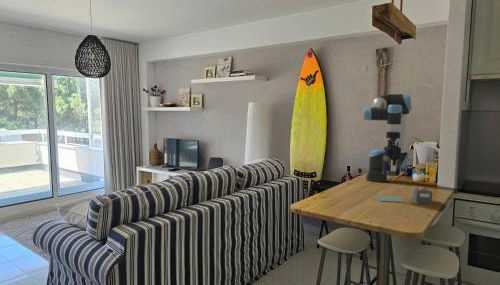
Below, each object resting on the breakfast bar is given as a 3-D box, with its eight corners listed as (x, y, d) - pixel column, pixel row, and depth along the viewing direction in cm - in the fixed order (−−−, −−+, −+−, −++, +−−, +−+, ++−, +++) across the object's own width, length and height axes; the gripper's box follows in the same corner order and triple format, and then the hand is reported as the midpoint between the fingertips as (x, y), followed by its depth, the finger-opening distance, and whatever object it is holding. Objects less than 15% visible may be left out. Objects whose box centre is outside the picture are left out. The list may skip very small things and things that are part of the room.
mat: (375, 196, 208) (375, 195, 208) (398, 197, 206) (398, 196, 206) (380, 201, 197) (380, 200, 197) (403, 202, 195) (403, 201, 194)
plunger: (417, 198, 201) (418, 186, 200) (424, 198, 200) (424, 187, 199) (419, 200, 197) (420, 188, 196) (426, 200, 196) (427, 188, 196)
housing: (412, 199, 203) (413, 187, 203) (426, 199, 202) (427, 188, 201) (416, 202, 195) (417, 190, 194) (431, 203, 194) (432, 191, 193)
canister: (401, 177, 194) (403, 146, 193) (383, 176, 196) (385, 145, 195) (397, 174, 204) (399, 144, 202) (380, 173, 206) (382, 144, 204)
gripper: (382, 130, 209) (380, 166, 211) (391, 132, 187) (389, 172, 189) (395, 130, 208) (393, 166, 210) (405, 132, 186) (403, 173, 188)
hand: (391, 169), depth 200 cm, fingers closed on canister, 9 cm apart
